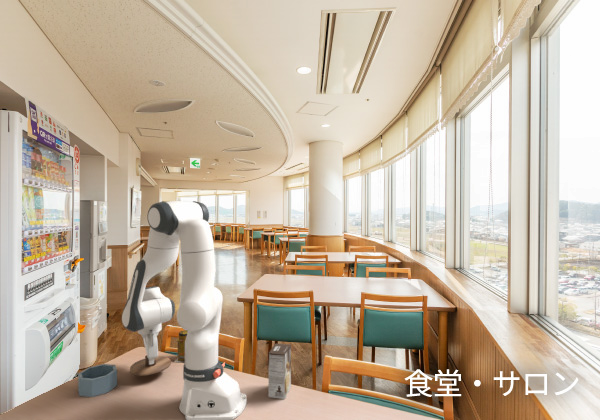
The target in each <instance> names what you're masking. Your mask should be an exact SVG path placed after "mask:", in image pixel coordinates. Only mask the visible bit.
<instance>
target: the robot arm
mask: <svg viewBox="0 0 600 420" xmlns="http://www.w3.org/2000/svg"><path fill="white" fill-rule="evenodd" d="M146 218H147V222H148V225H149V232H148V238H147V247H146V251H145V254H144V255H143V257H142V259H141V260H139V261H138V262H136V263H137V264H136V265H135V269H134V271H133V275H132V279H131V283H130V287H129V291H128V296H127V299H126V303H125V305H124V308H123V311H122V314H121V323H122V326H123V327H124V328H125V329H126V330H128V331H129V332H133V333H136V332H137V334H139V335H141V338H142V339H143V340H142V341H143V345H144V348H145V351H146V355H147V357H148V359H149V364H150V365H151V364H154V358H156V357H157V356H159V348H158V347H159V346H158V345H159V343H158V337H157V336H158V335H159V332H161V331H162V329H163V327H162V326H163V325H162V324H164V323H167V322H170V321H171V320H172V319H173V318H174V316H175V313H176V321H177V324H178V325H179V326H180V327H181V328H182V329H183V331H185V330H187V331H188V333H187V337H186V340H185V362H183V363H184V364H183V370H182V371H183V372H182V373H183V375H182V376H183V389H182V396H181V398H180V399H181V400H180V403H179V411H180V412H181V413H182V414H183V415H184V418H185V420H234V419H236V418H237V417H239V416H240V415H241V414H242V412H244V409H245V408H246V406H247V402H248V399H247V398H248V397H247V395H246V393H243V392H241V388H240V384H239V382H238V381H237V380H235V379H234V378H233V377H231V376H230V375H229V374H227V373H226V372H225V371H224V367H225V364H226V362H225V361H224V362H223V363H221V362H220V360H219V337H220V336H219V335H220V329H221V328H220V327H221V321H222V310H223V303H224V302H223V301H224V296H223V293H222V291H221V290H220V289H219V288H217V287H216V286H215V278H216V272H217V270H216V269H217V268H216V267H217V266H216V256H215V246H214V245H215V244H214V238H213V233H212V229H211V225H210V224H209V220H210V212H209V209H208V207H207V206H206V204H204V203H203V202H199V201H196V200H195V201H186V200H185V201H184V200H183V201H182V200H171V201H160V202H156V203H154V204H152V205H150V207H149V208H148V211H147V217H146ZM179 252H180V260H181V262H180V263H181V285H180V286H181V287H180V294H179V305H178V309H177V312H176V305H175V301H174V300H172V299H171V298H170V297H168V296H167V297H166V296H165V295H164V294H163V293H162V291H161V289H160V286H158V285H154V286H148V287H146V286H147V283H148V282H149V280H151V279H152V278H153V277H154V276H156V275H157V274H160V273H161V272H163V271H165V270H167V269H169V268H170V267H172V266H173V265H174V264H175V263H176V262H177V259H178V257H179Z"/></svg>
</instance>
